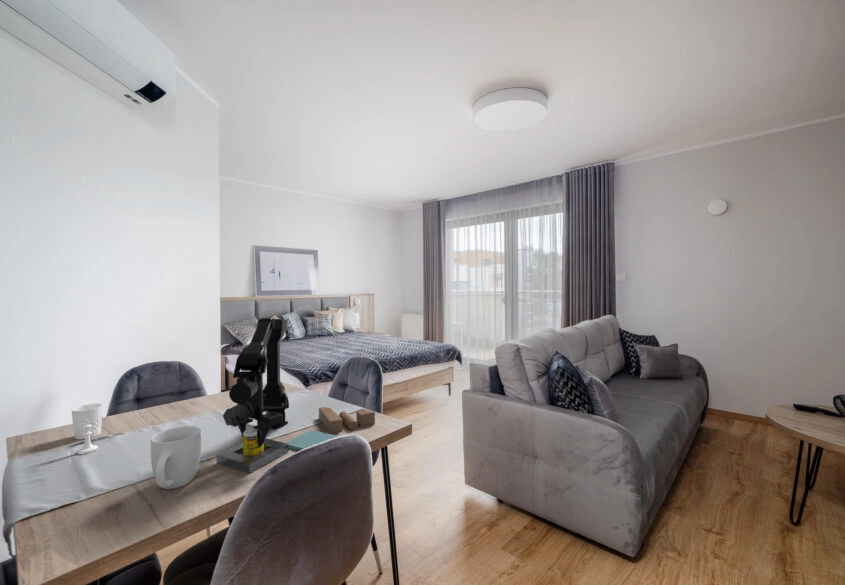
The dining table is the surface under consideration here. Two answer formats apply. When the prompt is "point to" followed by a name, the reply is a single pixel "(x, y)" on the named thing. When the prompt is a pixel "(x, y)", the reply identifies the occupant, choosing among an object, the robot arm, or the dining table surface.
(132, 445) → the dining table surface
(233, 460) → the frame
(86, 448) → the chess piece
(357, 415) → the wooden block set
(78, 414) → the white cup
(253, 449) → the supplement bottle
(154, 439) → the mug
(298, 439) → the mat
